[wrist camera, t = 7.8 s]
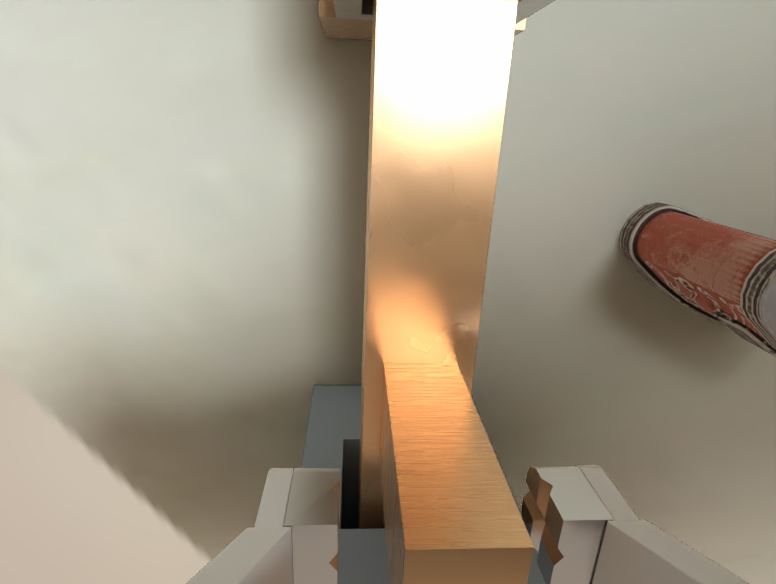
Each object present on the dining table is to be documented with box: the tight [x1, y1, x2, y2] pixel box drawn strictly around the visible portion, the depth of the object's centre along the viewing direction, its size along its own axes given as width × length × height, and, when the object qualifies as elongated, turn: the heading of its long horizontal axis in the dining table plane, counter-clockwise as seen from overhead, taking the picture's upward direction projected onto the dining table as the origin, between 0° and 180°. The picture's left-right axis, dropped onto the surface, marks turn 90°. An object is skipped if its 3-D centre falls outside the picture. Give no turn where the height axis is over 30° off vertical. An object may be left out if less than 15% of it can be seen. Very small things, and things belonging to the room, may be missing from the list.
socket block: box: [301, 385, 546, 584], centre depth 18 cm, size 6×7×10 cm
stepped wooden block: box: [357, 0, 534, 584], centre depth 11 cm, size 20×3×9 cm, turn 177°
